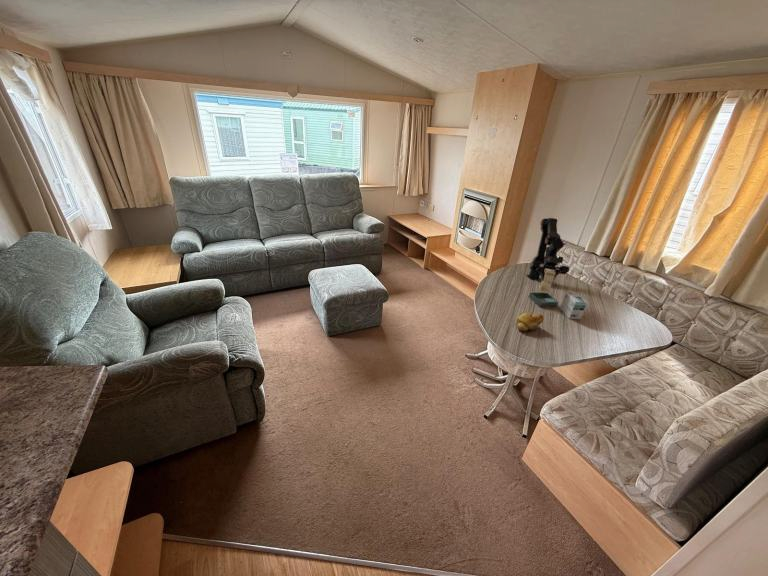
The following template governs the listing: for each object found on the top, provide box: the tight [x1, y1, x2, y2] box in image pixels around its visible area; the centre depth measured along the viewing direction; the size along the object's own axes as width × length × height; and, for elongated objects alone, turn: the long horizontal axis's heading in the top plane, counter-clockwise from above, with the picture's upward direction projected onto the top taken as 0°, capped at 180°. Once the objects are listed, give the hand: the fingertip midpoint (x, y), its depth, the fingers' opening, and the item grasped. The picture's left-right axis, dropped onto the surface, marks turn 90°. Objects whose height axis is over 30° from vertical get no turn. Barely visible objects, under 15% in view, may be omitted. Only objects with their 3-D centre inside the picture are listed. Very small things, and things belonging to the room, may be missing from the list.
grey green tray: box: [528, 291, 559, 308], centre depth 178 cm, size 11×11×3 cm
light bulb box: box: [559, 291, 589, 320], centre depth 166 cm, size 11×7×11 cm, turn 179°
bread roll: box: [516, 312, 544, 332], centre depth 153 cm, size 13×10×8 cm
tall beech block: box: [538, 268, 556, 294], centre depth 172 cm, size 4×4×12 cm
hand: (547, 281), depth 171 cm, fingers closed on tall beech block, 4 cm apart
